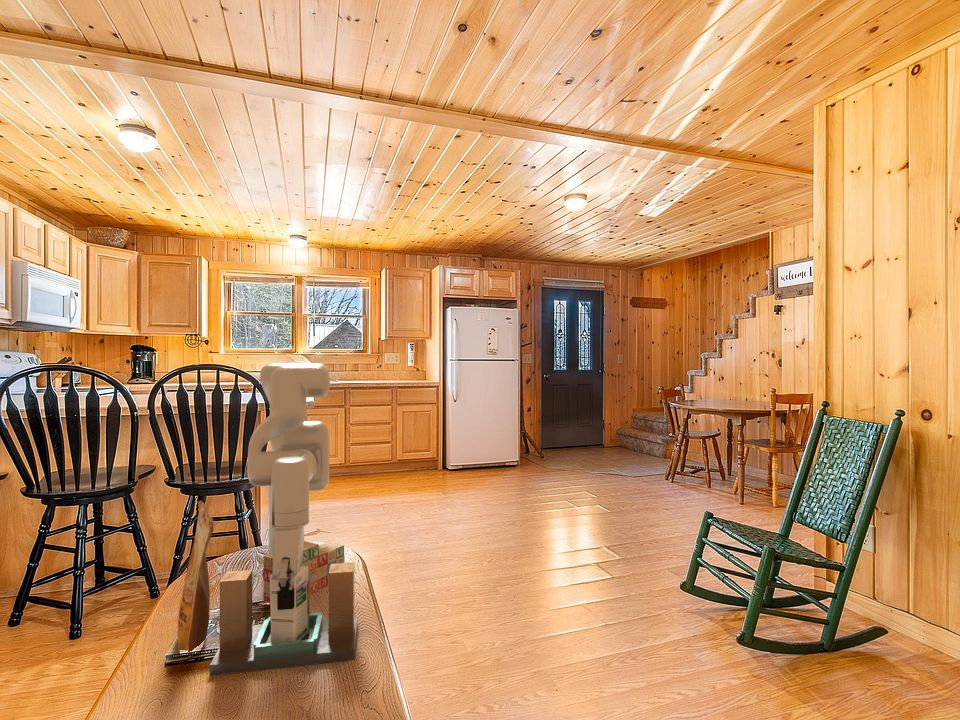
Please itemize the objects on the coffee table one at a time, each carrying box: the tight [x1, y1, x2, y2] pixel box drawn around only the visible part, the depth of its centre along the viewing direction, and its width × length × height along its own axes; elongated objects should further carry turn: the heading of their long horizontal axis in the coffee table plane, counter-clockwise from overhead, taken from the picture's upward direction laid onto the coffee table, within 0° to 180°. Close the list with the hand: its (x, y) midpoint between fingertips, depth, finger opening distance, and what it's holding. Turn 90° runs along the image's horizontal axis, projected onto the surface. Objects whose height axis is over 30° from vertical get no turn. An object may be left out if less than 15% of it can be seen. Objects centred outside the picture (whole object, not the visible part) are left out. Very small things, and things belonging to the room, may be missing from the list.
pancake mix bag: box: [177, 500, 214, 652], centre depth 110 cm, size 7×19×28 cm, turn 27°
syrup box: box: [269, 564, 310, 643], centre depth 107 cm, size 6×6×14 cm
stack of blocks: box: [262, 540, 346, 604], centre depth 133 cm, size 21×6×12 cm, turn 149°
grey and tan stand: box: [208, 562, 359, 676], centre depth 107 cm, size 14×27×16 cm, turn 101°
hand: (290, 597), depth 107 cm, fingers open, 9 cm apart
